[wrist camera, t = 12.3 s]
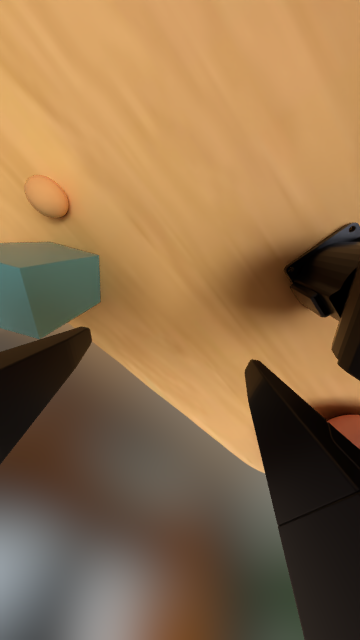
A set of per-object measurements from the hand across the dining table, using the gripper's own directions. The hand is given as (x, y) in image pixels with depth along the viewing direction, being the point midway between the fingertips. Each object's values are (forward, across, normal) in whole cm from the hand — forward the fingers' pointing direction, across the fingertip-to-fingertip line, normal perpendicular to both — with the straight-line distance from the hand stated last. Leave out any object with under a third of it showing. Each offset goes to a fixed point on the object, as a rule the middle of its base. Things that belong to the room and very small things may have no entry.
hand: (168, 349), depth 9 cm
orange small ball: (+13, +15, -7) cm, 21 cm away
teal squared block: (+13, +15, +1) cm, 20 cm away
